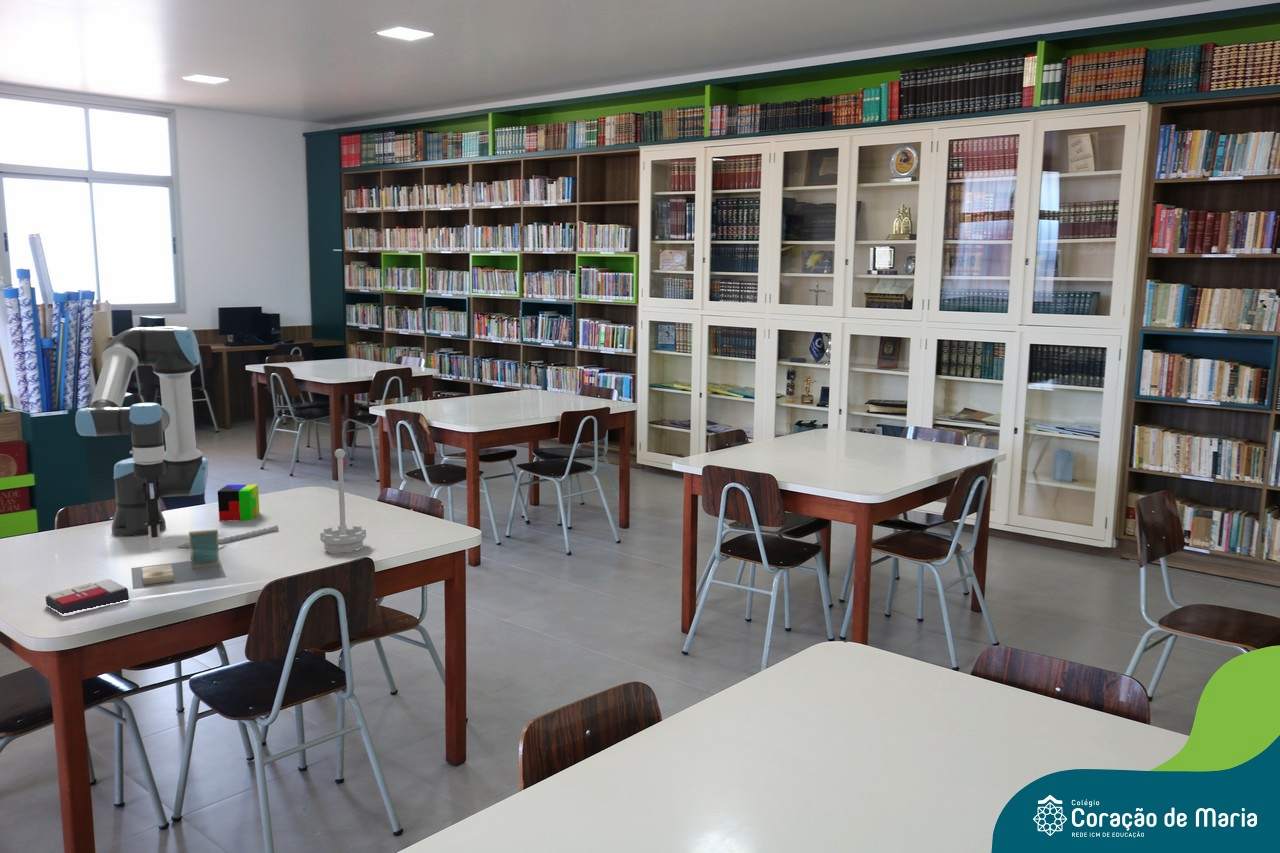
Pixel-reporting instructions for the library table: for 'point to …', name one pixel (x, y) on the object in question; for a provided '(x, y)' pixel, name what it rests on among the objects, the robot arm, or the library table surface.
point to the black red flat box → (87, 596)
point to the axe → (239, 536)
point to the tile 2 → (204, 548)
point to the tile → (157, 574)
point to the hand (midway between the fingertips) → (155, 548)
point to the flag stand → (342, 521)
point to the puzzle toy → (238, 502)
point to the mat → (180, 574)
